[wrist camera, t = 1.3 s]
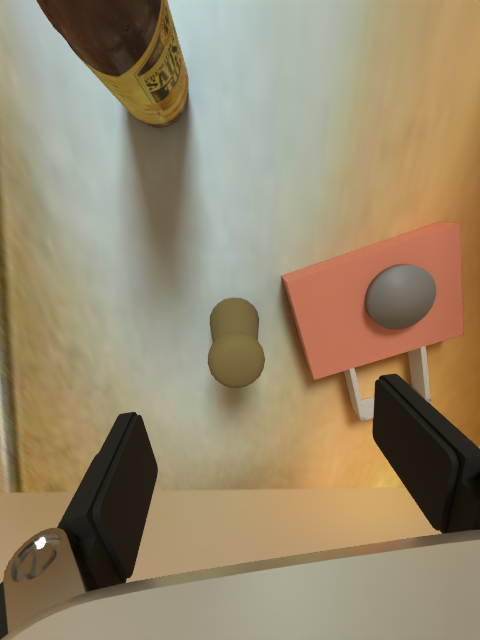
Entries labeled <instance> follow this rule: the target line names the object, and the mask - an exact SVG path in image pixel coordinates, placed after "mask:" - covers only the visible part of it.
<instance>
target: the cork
mask: <svg viewBox="0 0 480 640" xmlns="http://www.w3.org/2000/svg"><path fill="white" fill-rule="evenodd" d="M210 326H211V332H212V338H213V344H212V346H211V348H210V351H209V354H208V365H209V368H210V371H211V374H212V375H213V377H214V378H215V379H216V380H217V381H219V382H220V383H221V384H223V385H225V386H228V387H234V388H240V387H244V386H247V385H249V384H251V383H253V382H254V381H255V380H256V379H257V378H258V377H259V376H260V375H261V373H262V371H263V368H264V362H265V357H264V352H263V348H262V347H261V345H260V344H259V342H258V327H259V317H258V312H257V311H256V309H255V307H254V306H253V305H252V304H251V303H249V302H248V301H246V300H244V299H241V298H229V299H225V300H223V301H221V302H220V303H218V304H217V305H216V306H215V308H214V309H213V311H212V313H211V315H210Z"/></svg>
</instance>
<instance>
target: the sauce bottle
mask: <svg viewBox="0 0 480 640" xmlns="http://www.w3.org/2000/svg"><path fill="white" fill-rule="evenodd" d="M37 2H38V4H39V6H40V7H41V9H42V11H43V12H44V14H45V15H46V17H47V18H48V20H49V21H50V22H51V24H52V25H53V27H54V28H55V29H56V30H57V31H58V32H59V33H60V34H61V35H62V36H63V37H64V39H65V40H66V41H67V43H68V44H69V46H70V47H71V48H72V50H73V51H74V52H75V54H76V55H77V56H78V57H79V58H80V59H81V60H82V61H83V62H84V63H85V64H86V65H87V66H88V68H89V69H90V70H91V71H92V72H93V73H94V74H95V75H96V76H97V77H98V78H99V80H100V81H101V82H102V83H103V84H104V85H105V86H106V87H107V88H108V89H109V91H110V92H111V93H112V94H113V95H114V96H115V97H116V98H117V99H118V100H119V102H120V103H121V104H122V105H123V106H124V107H125V108H126V109H127V110H128V111H129V112H130V113H131V114H132V115H133V116H135V117H136V118H138V119H139V120H141V121H142V122H144V123H146V124H148V125H150V126H153V127H164V126H168V125H170V124H172V123H174V122H175V121H176V120H177V119H178V118H179V117H180V116H181V114H182V112H183V110H184V108H185V106H186V103H187V98H188V74H187V69H186V66H185V62H184V58H183V55H182V51H181V48H180V44H179V41H178V37H177V33H176V30H175V27H174V23H173V19H172V15H171V12H170V9H169V5H168V2H167V0H37Z"/></svg>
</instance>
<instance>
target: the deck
mask: <svg viewBox="0 0 480 640" xmlns="http://www.w3.org/2000/svg"><path fill="white" fill-rule="evenodd" d="M282 279H283V283H284V286H285V290H286V293H287V296H288V300H289V303H290V307H291V310H292V314H293V317H294V321H295V324H296V327H297V331H298V334H299V338H300V341H301V345H302V348H303V352H304V355H305V358H306V362H307V365H308V368H309V370H310V372H311V374H312V376H313V378H314V380H316V379H319V378H322V377H326V376H329V375H332V374H336V373H339V372H342V371H344V375H345V379H346V383H347V388H348V392H349V396H350V400H351V405H352V407H353V409H354V411H355V412H356V414H357V416H358V417H359V419H360V420H361V421H364V420H368V419H371V418H373V414H374V397H371V398H367V399H364V400H361V396H360V392H359V387H358V382H357V378H356V373H355V367H359V366H362V365H365V364H368V363H372V362H375V361H378V360H382V359H385V358H388V357H392V356H395V355H398V354H401V353H405V352H408V359H409V367H410V375H411V383H412V386H411V387H412V388H413V389H414V390H415V391H416V392H417V393H419V394H420V395H421V396H422V397H423V398H424V399H425V400H426V401H427V402H431V397H430V386H429V375H428V365H427V354H426V346H428V345H431V344H434V343H438V342H441V341H444V340H448V339H451V338H454V337H457V336H461V335H464V331H463V302H462V272H461V242H460V224H459V223H445V222H437V223H435V224H432V225H429V226H426V227H423V228H420V229H417V230H414V231H411V232H408V233H405V234H402V235H400V236H397V237H394V238H391V239H388V240H385V241H382V242H379V243H376V244H373V245H370V246H367V247H365V248H362V249H359V250H356V251H353V252H350V253H347V254H344V255H341V256H338V257H335V258H332V259H330V260H327V261H324V262H321V263H318V264H315V265H312V266H309V267H306V268H303V269H300V270H297V271H295V272H292V273H289V274H286V275H283V276H282Z"/></svg>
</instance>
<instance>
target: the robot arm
mask: <svg viewBox="0 0 480 640" xmlns="http://www.w3.org/2000/svg"><path fill="white" fill-rule="evenodd" d="M373 438H374V440H375V442H376V444H377V445H378V447H379V448H380V450H381V451H382V453H383V454H384V456H385V457H386V459H387V460H388V462H389V463H390V465H391V466H392V468H393V469H394V471H395V472H396V474H397V475H398V477H399V478H400V479H401V481H402V482H403V484H404V485H405V487H406V488H407V490H408V491H409V493H410V494H411V496H412V497H413V499H414V500H415V502H416V503H417V505H418V506H419V508H420V509H421V510H422V512H423V513H424V515H425V516H426V518H427V519H428V521H429V522H430V524H431V525H432V527H433V528H435V529H436V530H440V531H441V533H442V534H438V535H430V536H422V537H415V538H408V539H402V540H395V541H388V542H381V543H375V544H368V545H360V546H354V547H347V548H340V549H334V550H327V551H320V552H314V553H308V554H301V555H294V556H288V557H281V558H275V559H268V560H262V561H256V562H249V563H242V564H236V565H230V566H224V567H217V568H211V569H205V570H199V571H192V572H187V573H180V574H174V575H168V576H162V577H156V578H151V579H145V580H140V581H134V582H129V583H126V579H127V578H130V577H131V576H132V574H133V570H134V566H135V562H136V558H137V554H138V550H139V546H140V542H141V538H142V534H143V530H144V526H145V522H146V518H147V514H148V510H149V506H150V502H151V498H152V494H153V490H154V486H155V482H156V478H157V473H158V467H157V463H156V460H155V457H154V454H153V450H152V447H151V444H150V441H149V438H148V435H147V432H146V428H145V425H144V422H143V419H142V416H141V415H137V414H136V412H130V413H123V414H120V415H119V416H118V417H117V419H116V421H115V423H114V425H113V427H112V429H111V431H110V433H109V434H108V436H107V438H106V440H105V442H104V444H103V446H102V448H101V450H100V452H99V453H98V454H97V455H96V456H95V457H94V459H93V461H92V463H91V464H90V466H89V468H88V470H87V472H86V474H85V476H84V478H83V480H82V481H81V483H80V485H79V487H78V489H77V491H76V493H75V495H74V497H73V498H72V500H71V502H70V504H69V506H68V508H67V510H66V512H65V514H64V516H63V517H62V520H61V521H60V523H59V525H58V527H57V528H49V529H46V530H44V531H41V532H40V533H38V534H36V535H34V536H33V537H31V538H30V539H29V540H28V541H26V542H25V543H24V544H23V545H22V546H21V547H20V548H19V549H18V550H17V551H16V552H15V554H14V555H13V557H12V558H11V560H10V561H9V562H8V565H7V567H6V570H5V572H4V579H3V582H2V583H1V584H0V640H480V449H479V448H478V447H477V446H476V445H475V444H474V443H473V442H472V441H470V440H469V439H468V438H467V437H466V436H465V435H464V434H463V433H462V432H460V431H459V430H458V429H457V428H456V427H455V426H454V425H453V424H452V423H451V422H449V421H448V420H447V419H446V418H445V417H444V416H443V415H442V414H441V413H439V412H438V411H437V410H436V409H435V408H434V407H433V406H432V405H431V404H430V403H428V402H427V401H426V400H425V399H424V398H423V397H422V396H421V395H420V394H419V393H417V392H416V391H415V390H414V389H413V388H412V387H411V386H410V385H409V384H407V383H406V382H405V381H404V380H403V379H402V378H401V377H400V376H399V375H397V374H389V375H382V376H380V377H379V380H376V382H375V395H374V414H373Z"/></svg>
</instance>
